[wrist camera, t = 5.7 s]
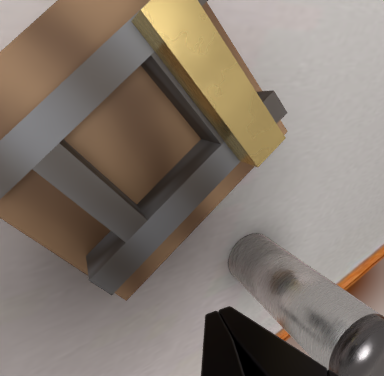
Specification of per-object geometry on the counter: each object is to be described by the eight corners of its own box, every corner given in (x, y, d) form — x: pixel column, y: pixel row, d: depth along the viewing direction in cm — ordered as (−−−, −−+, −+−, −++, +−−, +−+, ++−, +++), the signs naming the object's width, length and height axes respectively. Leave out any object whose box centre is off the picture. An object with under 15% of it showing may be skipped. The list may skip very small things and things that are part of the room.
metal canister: (246, 288, 27) (363, 408, 16) (219, 262, 25) (331, 381, 14) (279, 252, 28) (413, 347, 17) (255, 223, 25) (390, 311, 15)
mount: (124, 294, 22) (134, 328, 19) (-99, 145, 15) (-147, 158, 12) (280, 130, 24) (316, 135, 20) (148, -77, 16) (169, -123, 13)
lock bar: (239, 160, 18) (257, 167, 17) (131, 21, 14) (140, 9, 12) (265, 134, 19) (285, 138, 17) (166, -12, 14) (180, -28, 12)
